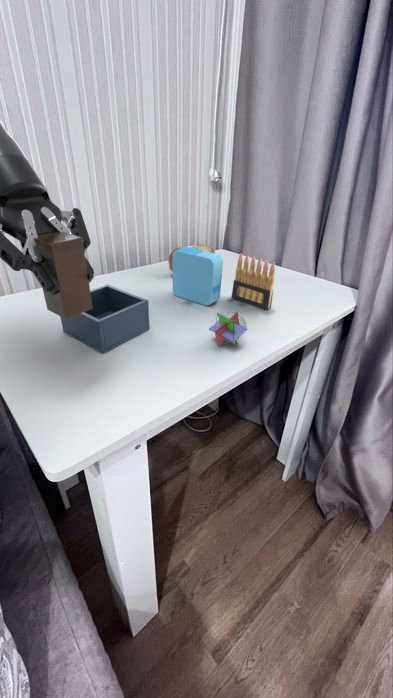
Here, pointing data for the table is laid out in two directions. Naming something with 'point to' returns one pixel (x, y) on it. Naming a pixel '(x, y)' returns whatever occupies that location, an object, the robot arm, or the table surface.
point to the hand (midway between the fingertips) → (73, 285)
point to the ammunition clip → (254, 283)
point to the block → (66, 273)
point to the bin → (109, 319)
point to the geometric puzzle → (229, 328)
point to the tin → (200, 247)
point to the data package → (197, 275)
